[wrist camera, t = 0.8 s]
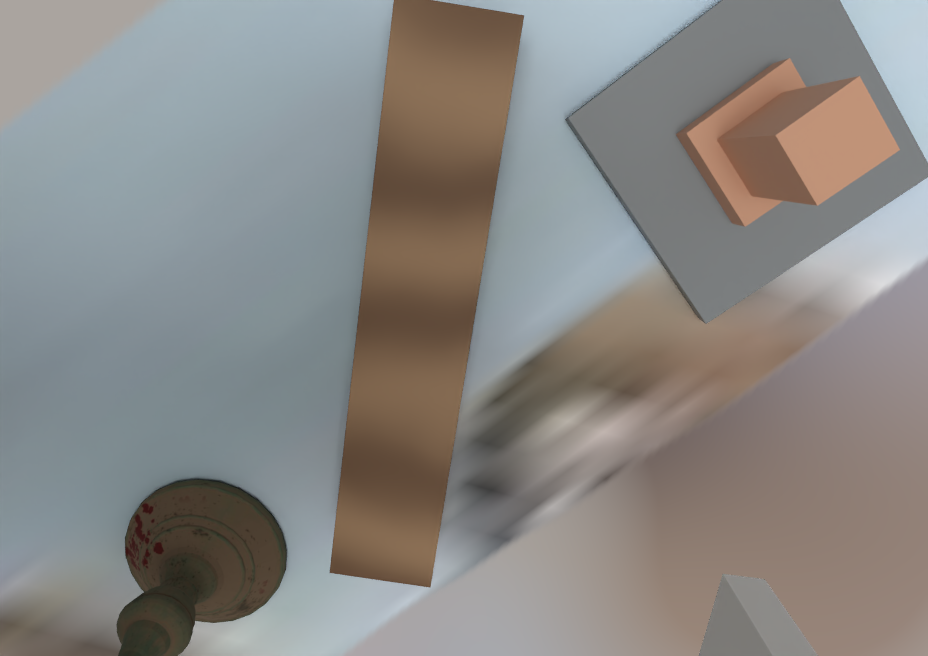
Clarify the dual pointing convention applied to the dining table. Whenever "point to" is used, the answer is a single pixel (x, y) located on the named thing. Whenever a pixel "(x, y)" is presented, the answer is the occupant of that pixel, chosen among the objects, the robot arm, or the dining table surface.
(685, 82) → the fulcrum
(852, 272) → the dining table surface
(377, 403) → the bar
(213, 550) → the candlestick holder
